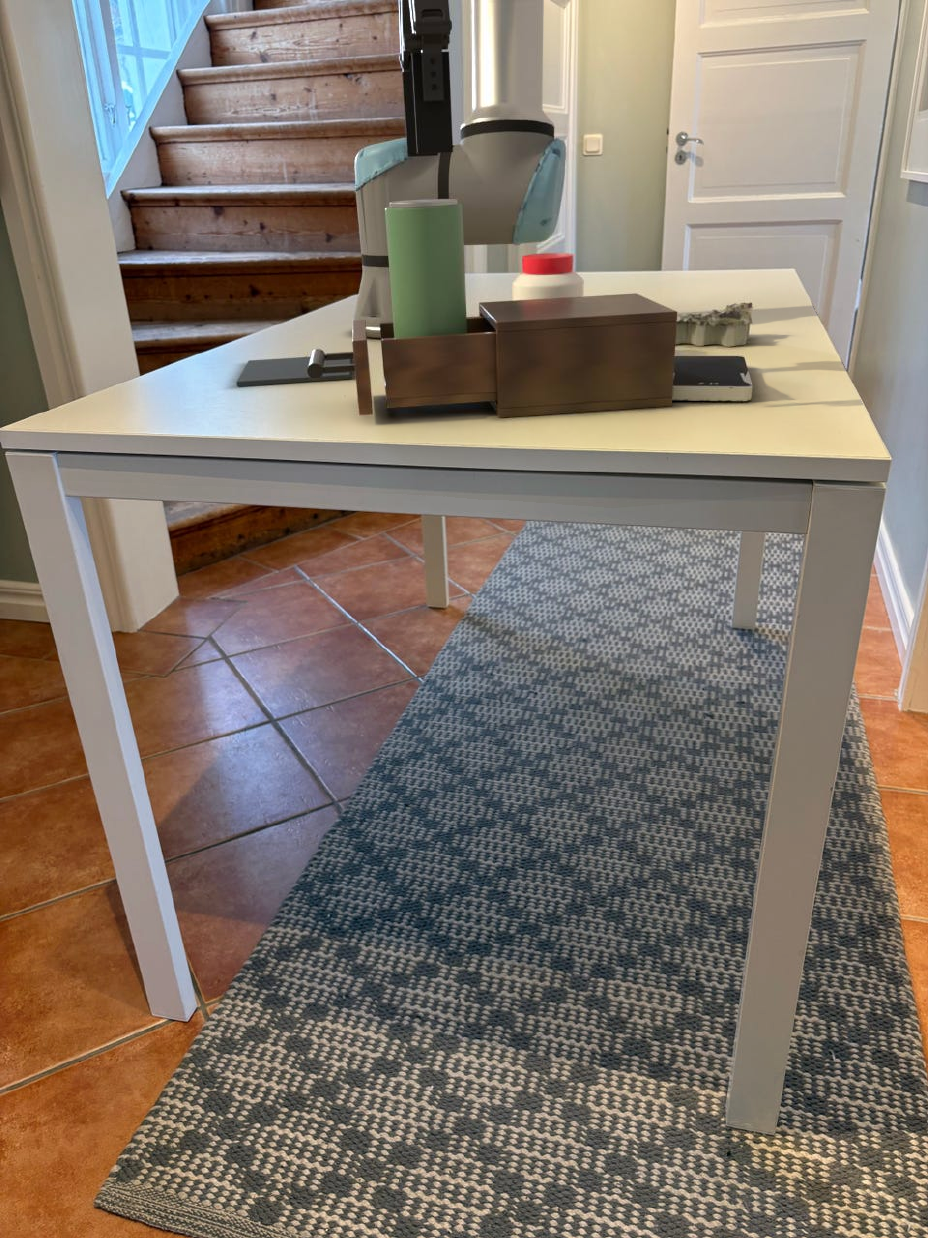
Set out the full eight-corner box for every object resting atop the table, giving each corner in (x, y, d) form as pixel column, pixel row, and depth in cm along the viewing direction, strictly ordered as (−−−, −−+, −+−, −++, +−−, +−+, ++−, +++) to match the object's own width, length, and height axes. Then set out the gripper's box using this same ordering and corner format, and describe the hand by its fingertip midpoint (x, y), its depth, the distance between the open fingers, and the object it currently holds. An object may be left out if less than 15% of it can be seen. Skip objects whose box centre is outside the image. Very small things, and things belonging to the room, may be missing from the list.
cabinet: (498, 417, 79) (496, 322, 75) (481, 386, 90) (478, 302, 86) (671, 406, 80) (677, 311, 76) (633, 376, 91) (636, 293, 88)
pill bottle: (579, 368, 96) (581, 258, 91) (508, 368, 98) (506, 260, 93) (585, 354, 103) (587, 250, 98) (518, 354, 104) (517, 252, 99)
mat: (249, 364, 106) (248, 360, 106) (351, 358, 107) (350, 353, 106) (236, 386, 95) (236, 381, 95) (350, 379, 96) (349, 374, 96)
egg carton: (753, 337, 108) (757, 301, 106) (743, 348, 102) (747, 311, 100) (665, 333, 112) (668, 299, 110) (651, 344, 106) (653, 308, 104)
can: (396, 378, 86) (383, 201, 79) (465, 373, 86) (457, 197, 79) (399, 393, 80) (385, 203, 73) (472, 388, 81) (465, 200, 74)
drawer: (310, 418, 78) (301, 343, 75) (316, 389, 88) (308, 322, 85) (523, 404, 79) (522, 330, 76) (504, 377, 89) (503, 311, 87)
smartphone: (744, 355, 92) (753, 387, 79) (742, 368, 93) (751, 402, 80) (668, 355, 94) (665, 386, 81) (667, 368, 95) (664, 401, 82)
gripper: (358, -124, 76) (378, 158, 85) (360, -247, 54) (388, 153, 63) (446, -126, 76) (457, 155, 86) (485, -248, 54) (494, 148, 64)
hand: (428, 155), depth 74 cm, fingers open, 13 cm apart
